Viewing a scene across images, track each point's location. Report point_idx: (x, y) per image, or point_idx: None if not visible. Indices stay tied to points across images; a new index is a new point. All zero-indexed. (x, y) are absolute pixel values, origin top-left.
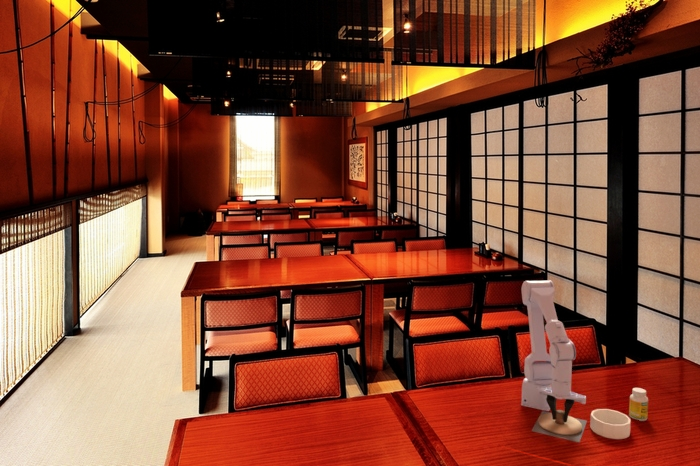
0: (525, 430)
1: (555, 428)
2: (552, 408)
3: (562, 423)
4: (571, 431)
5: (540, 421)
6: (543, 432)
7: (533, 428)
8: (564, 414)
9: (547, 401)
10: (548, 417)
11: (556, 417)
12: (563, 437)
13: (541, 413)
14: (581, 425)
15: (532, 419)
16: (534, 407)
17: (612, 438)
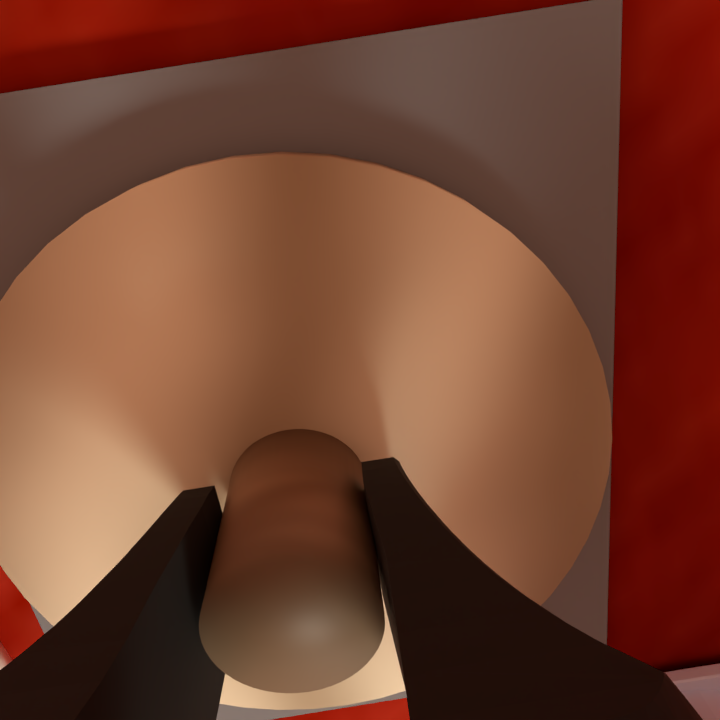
0: (713, 4)
1: (273, 254)
2: (432, 581)
3: (241, 464)
4: (21, 322)
5: (561, 337)
6: (424, 75)
7: (609, 111)
8: (204, 603)
9: (648, 685)
10: (488, 525)
11: (336, 494)
12: (86, 122)
13: (602, 608)
14: (21, 585)
15: (673, 426)
16: (708, 680)
17: None
